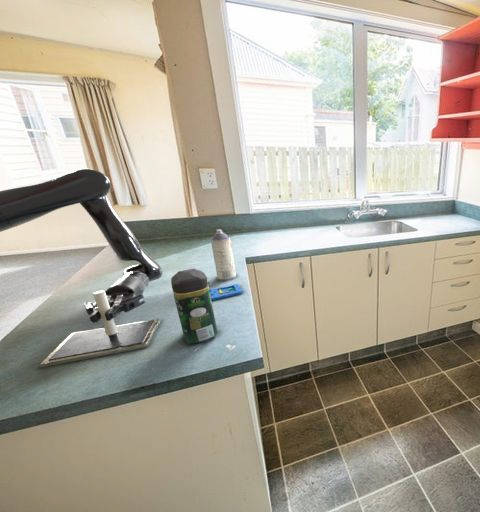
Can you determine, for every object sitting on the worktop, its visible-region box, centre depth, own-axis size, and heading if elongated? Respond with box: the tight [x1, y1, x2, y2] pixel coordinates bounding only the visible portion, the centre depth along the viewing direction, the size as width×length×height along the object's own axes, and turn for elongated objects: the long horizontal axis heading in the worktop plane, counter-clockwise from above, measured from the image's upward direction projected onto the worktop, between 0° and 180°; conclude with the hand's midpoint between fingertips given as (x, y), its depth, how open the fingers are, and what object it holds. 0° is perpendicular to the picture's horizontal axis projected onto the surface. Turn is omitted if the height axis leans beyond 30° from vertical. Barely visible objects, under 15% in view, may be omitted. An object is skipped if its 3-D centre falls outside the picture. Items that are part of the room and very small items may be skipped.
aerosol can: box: [210, 229, 237, 282], centre depth 118 cm, size 7×7×20 cm
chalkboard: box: [40, 318, 162, 368], centre depth 78 cm, size 20×14×1 cm
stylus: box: [92, 289, 117, 338], centre depth 77 cm, size 2×2×13 cm
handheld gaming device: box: [209, 283, 243, 301], centre depth 106 cm, size 8×1×15 cm
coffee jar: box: [170, 268, 218, 344], centre depth 79 cm, size 10×8×19 cm
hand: (100, 318), depth 74 cm, fingers closed on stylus, 2 cm apart
